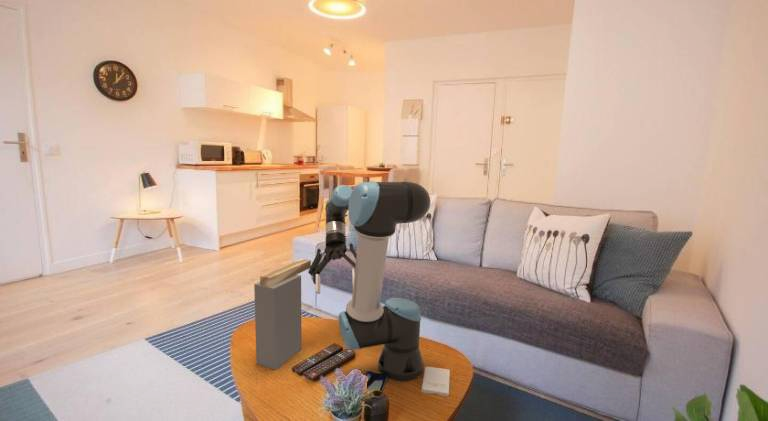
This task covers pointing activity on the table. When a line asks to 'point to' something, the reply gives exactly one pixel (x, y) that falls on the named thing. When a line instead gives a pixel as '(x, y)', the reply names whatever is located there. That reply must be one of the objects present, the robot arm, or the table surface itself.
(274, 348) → the tall stand
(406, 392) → the table surface
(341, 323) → the robot arm
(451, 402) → the table surface
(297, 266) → the birch strip
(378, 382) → the smartphone
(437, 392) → the external hard drive
